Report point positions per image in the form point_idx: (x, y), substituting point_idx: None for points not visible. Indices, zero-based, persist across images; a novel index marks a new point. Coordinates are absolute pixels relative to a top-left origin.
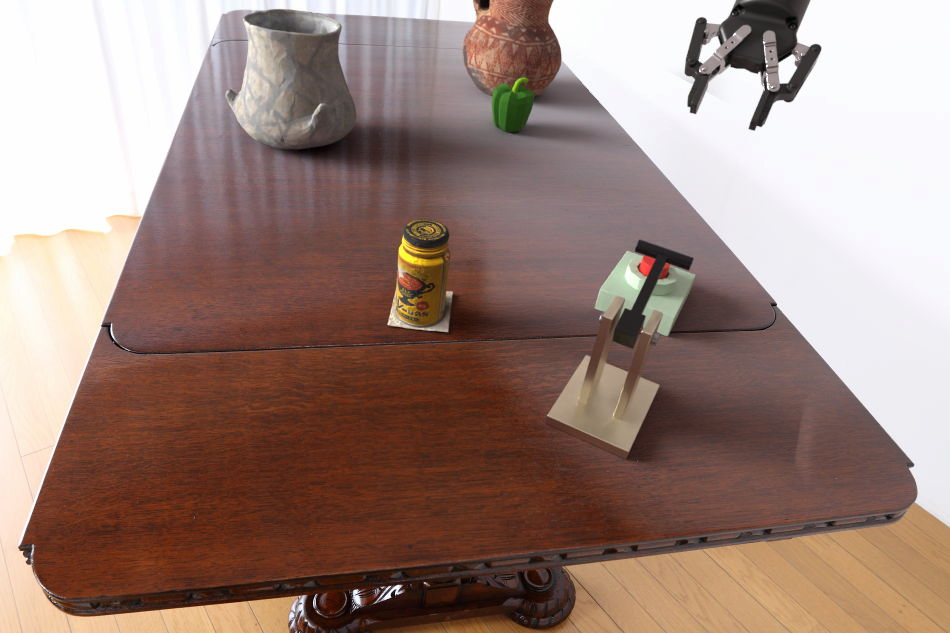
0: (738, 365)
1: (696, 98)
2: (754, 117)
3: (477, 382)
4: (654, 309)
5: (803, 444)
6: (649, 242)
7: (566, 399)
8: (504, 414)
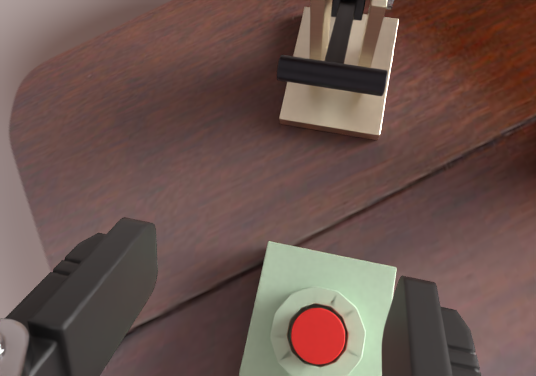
0: (171, 224)
1: (422, 293)
2: (137, 223)
3: (490, 53)
4: (301, 248)
5: (113, 110)
6: (365, 80)
7: (384, 49)
8: (442, 21)
